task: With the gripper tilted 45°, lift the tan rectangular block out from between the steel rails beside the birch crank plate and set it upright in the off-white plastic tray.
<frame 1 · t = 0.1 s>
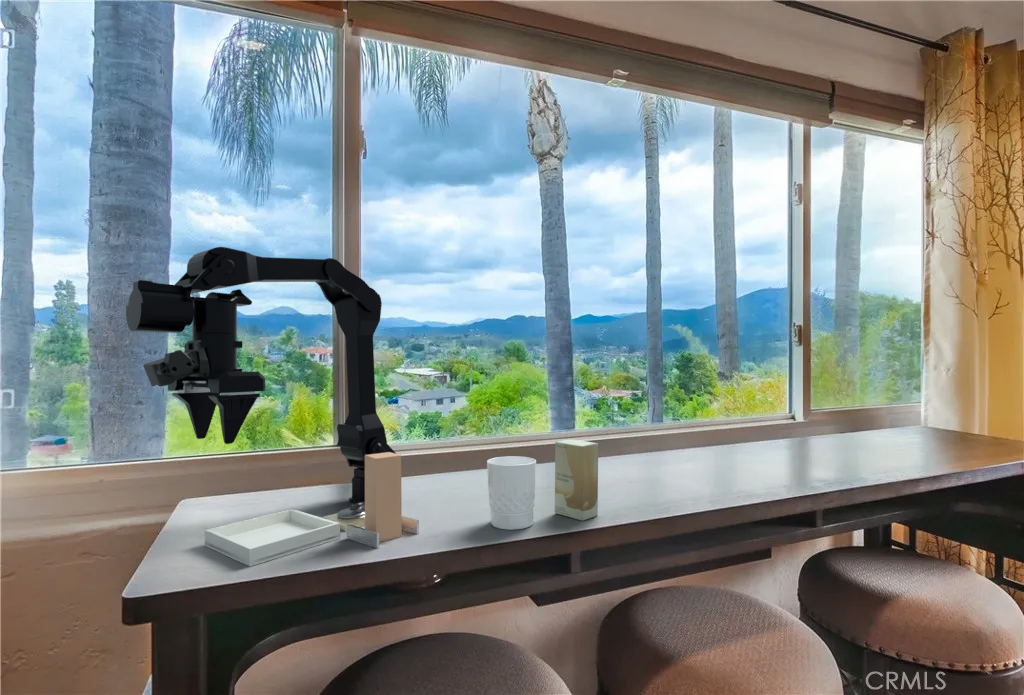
hand: (214, 441, 76), 15 cm above the table, tool pointing down, fingers open, 9 cm apart
tray: (273, 541, 76), on the table
stop bracket: (383, 535, 78), on the table
skincare box: (576, 516, 88), on the table
tan rectangular block: (383, 536, 78), on the table
white cup: (512, 524, 83), on the table
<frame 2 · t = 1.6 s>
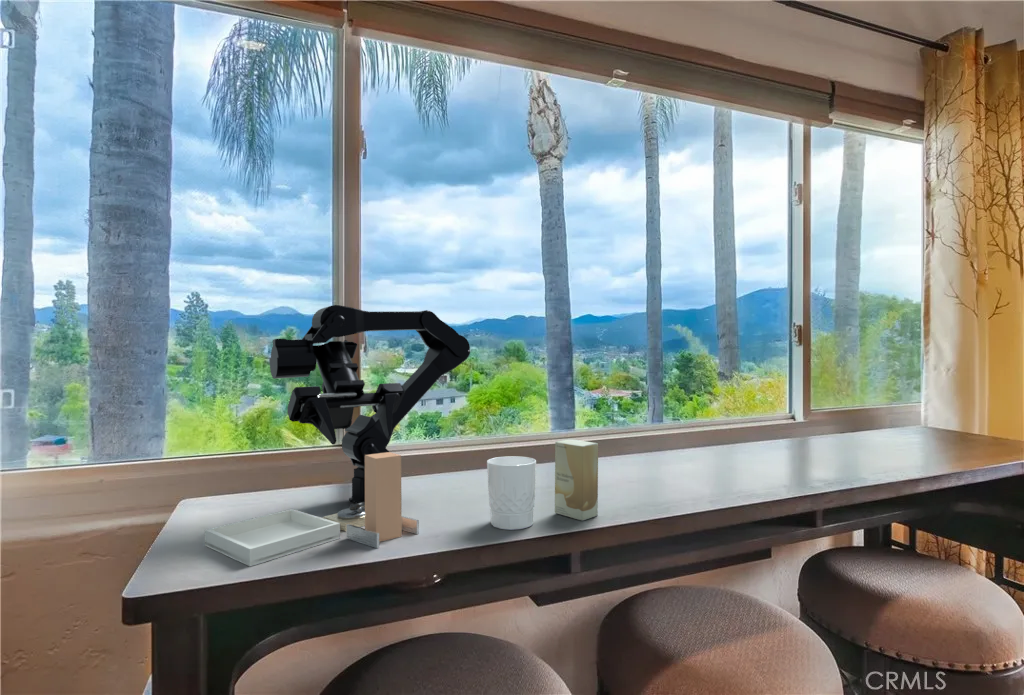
hand: (362, 439, 84), 13 cm above the table, tool tilted 45°, fingers open, 9 cm apart
nothing on the table moved.
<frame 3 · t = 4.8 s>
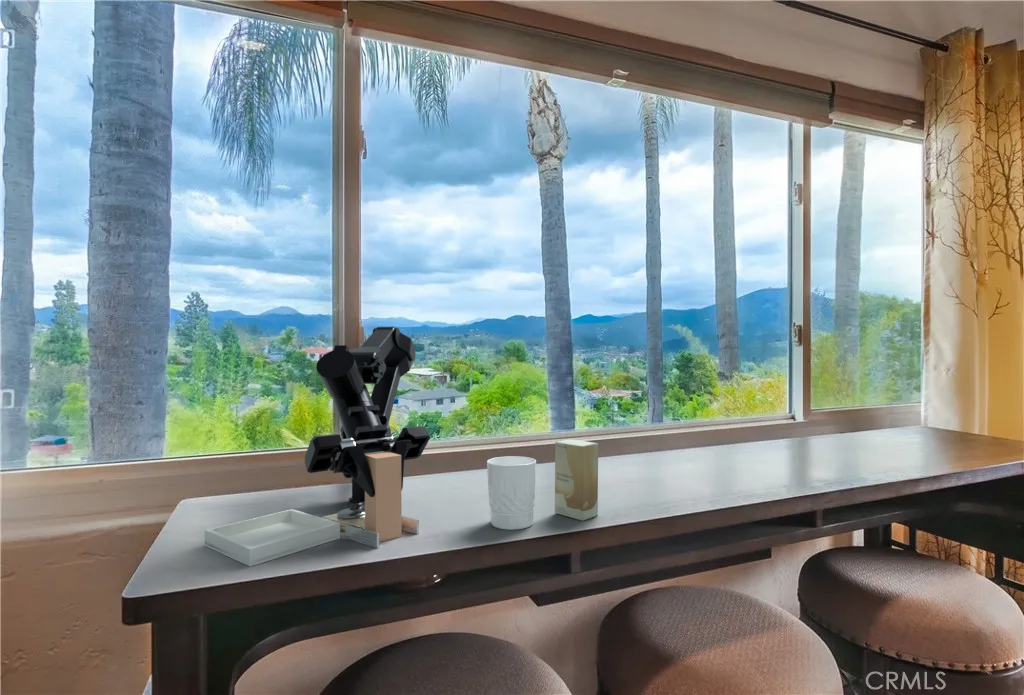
hand: (387, 493, 77), 7 cm above the table, tool tilted 45°, fingers closed on tan rectangular block, 4 cm apart
tan rectangular block: (383, 536, 78), on the table, touching gripper
everything else where it was.
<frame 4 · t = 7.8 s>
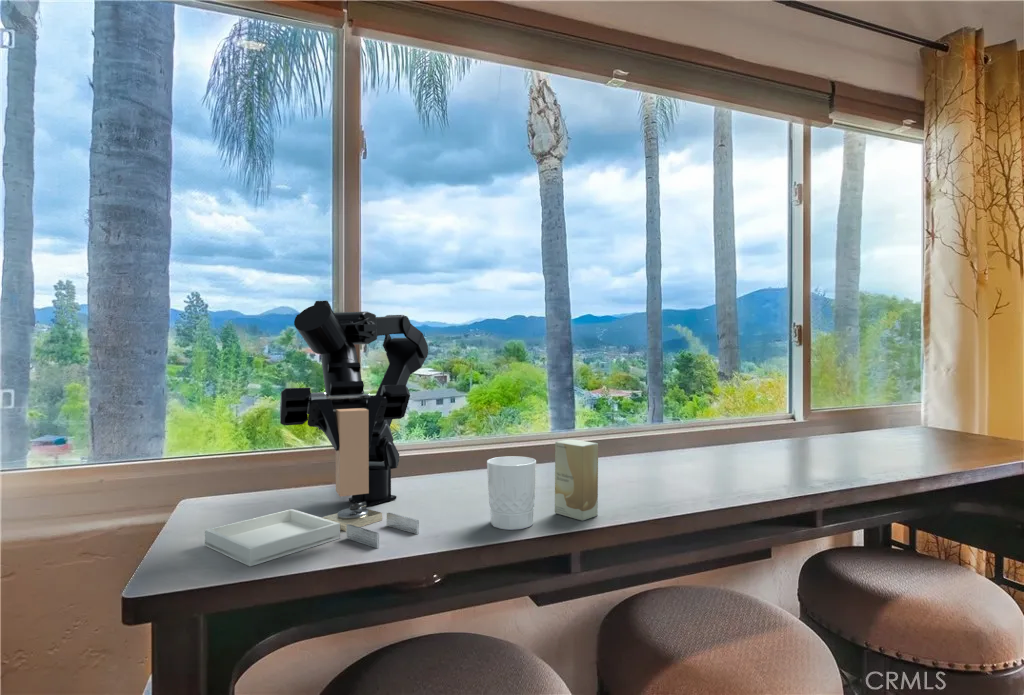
hand: (353, 447, 75), 14 cm above the table, tool tilted 45°, fingers closed on tan rectangular block, 4 cm apart
tan rectangular block: (352, 491, 76), point 7 cm above the table, touching gripper
everything else where it was.
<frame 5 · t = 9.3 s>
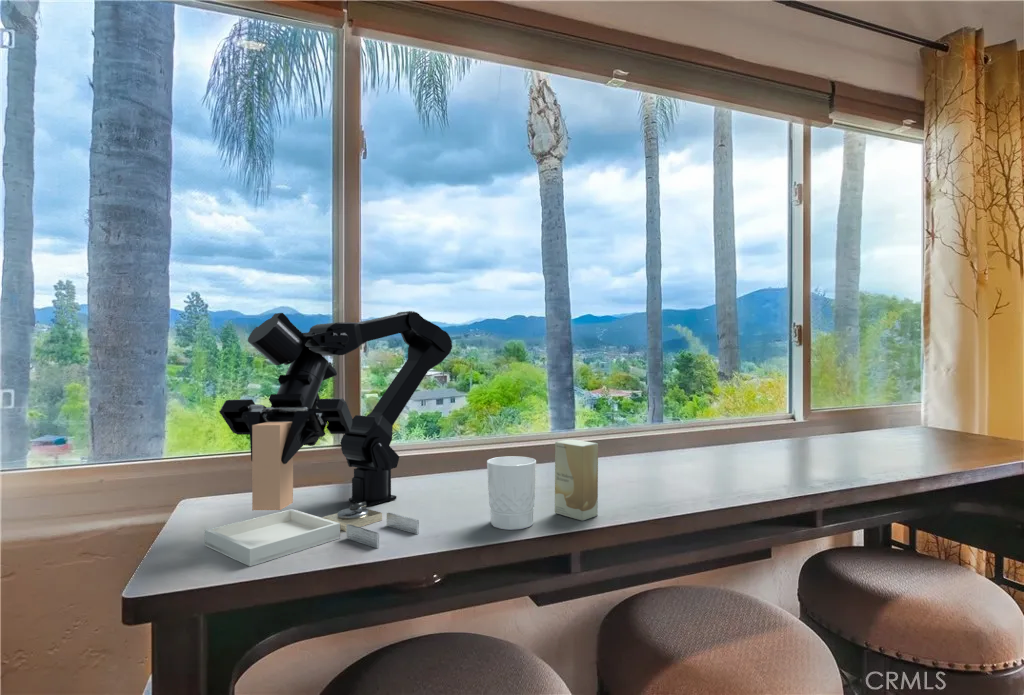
hand: (268, 462, 75), 12 cm above the table, tool tilted 45°, fingers closed on tan rectangular block, 4 cm apart
tan rectangular block: (273, 506, 76), point 5 cm above the table, touching gripper
everything else where it was.
when the fingers open (8 cm above the table, at t = 10.7 s): tan rectangular block stays where it is, resting on tray.
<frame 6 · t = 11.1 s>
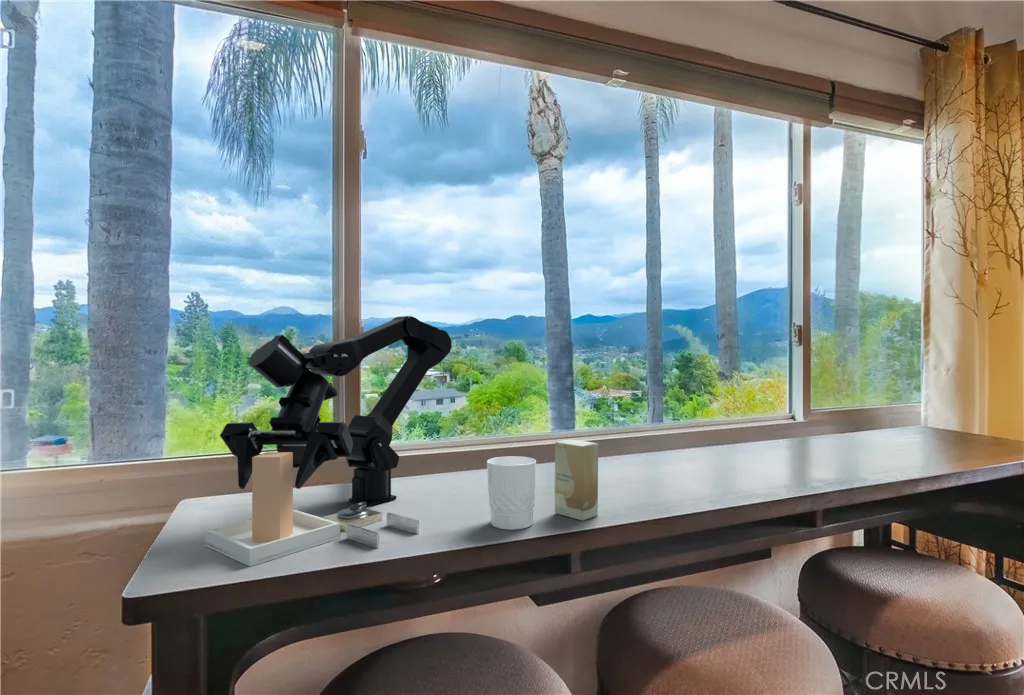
hand: (268, 487, 75), 8 cm above the table, tool tilted 45°, fingers open, 8 cm apart
tan rectangular block: (273, 537, 76), point 1 cm above the table, touching tray
everything else where it was.
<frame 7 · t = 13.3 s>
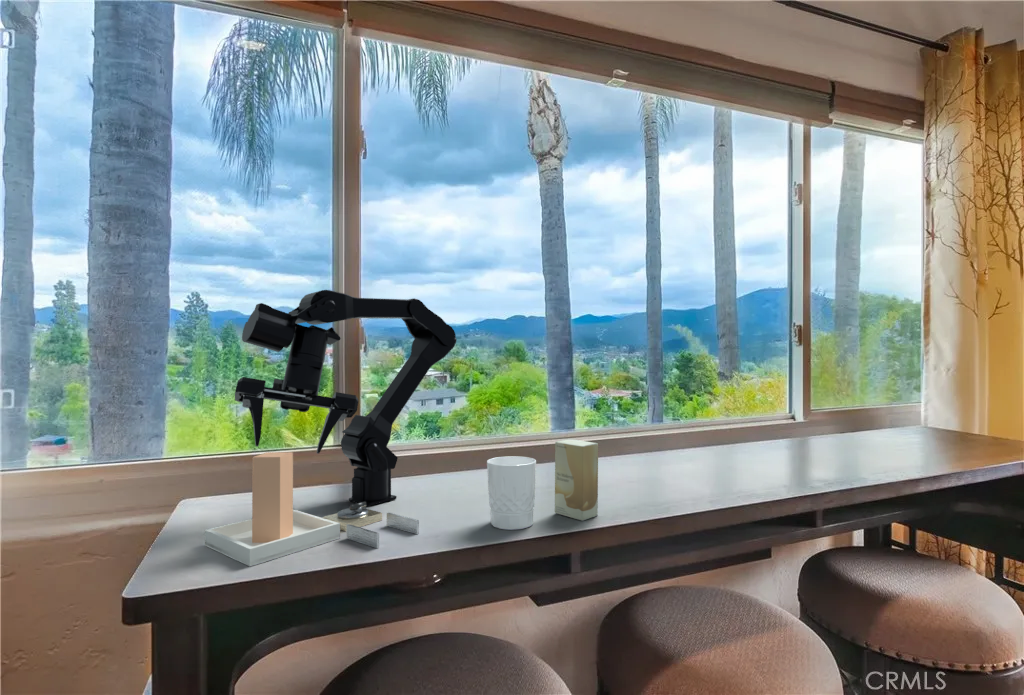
hand: (288, 449, 84), 12 cm above the table, tool tilted 20°, fingers open, 9 cm apart
nothing on the table moved.
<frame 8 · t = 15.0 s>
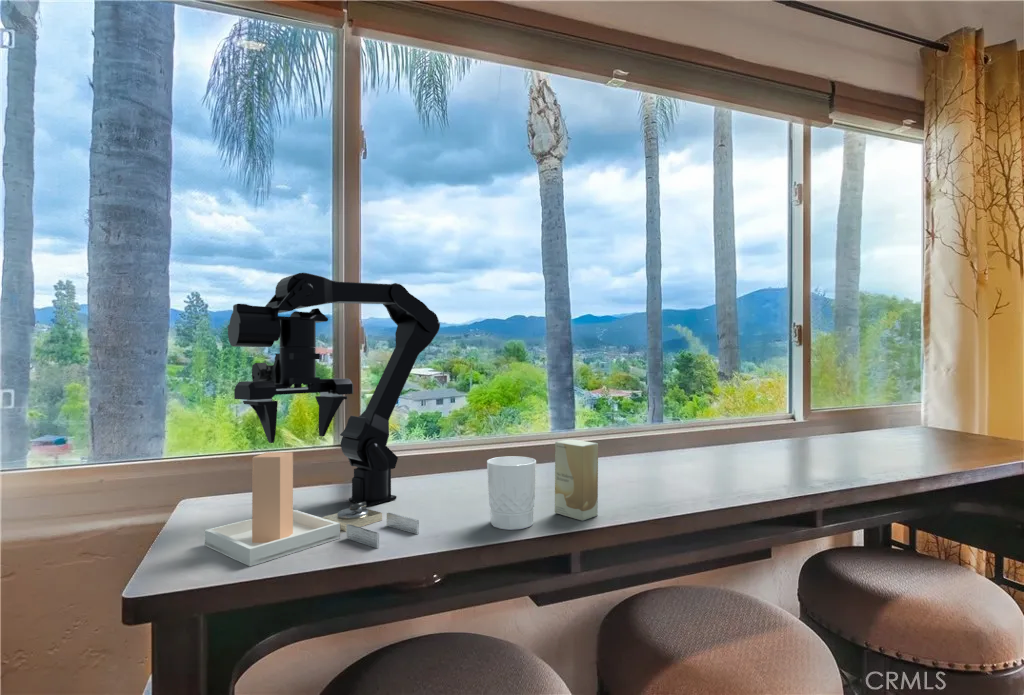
hand: (297, 439, 89), 13 cm above the table, tool pointing down, fingers open, 9 cm apart
nothing on the table moved.
at the end: tan rectangular block inside the target area on the tray (0.1 cm from its centre), point 0.6 cm above the tray's base; tan rectangular block tilted 0°; the gripper is holding nothing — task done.
